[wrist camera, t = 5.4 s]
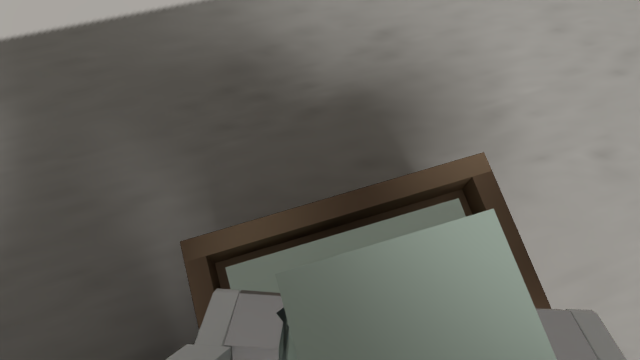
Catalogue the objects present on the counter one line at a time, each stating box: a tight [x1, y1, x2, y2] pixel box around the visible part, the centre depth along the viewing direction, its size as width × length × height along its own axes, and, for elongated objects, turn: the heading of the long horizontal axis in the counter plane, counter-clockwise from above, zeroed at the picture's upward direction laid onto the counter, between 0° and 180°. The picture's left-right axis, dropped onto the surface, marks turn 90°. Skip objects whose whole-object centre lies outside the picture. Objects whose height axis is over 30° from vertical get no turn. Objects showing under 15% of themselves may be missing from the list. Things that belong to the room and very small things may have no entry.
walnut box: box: [180, 152, 551, 329], centre depth 17 cm, size 9×9×7 cm
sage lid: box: [225, 198, 557, 360], centre depth 11 cm, size 7×7×7 cm
